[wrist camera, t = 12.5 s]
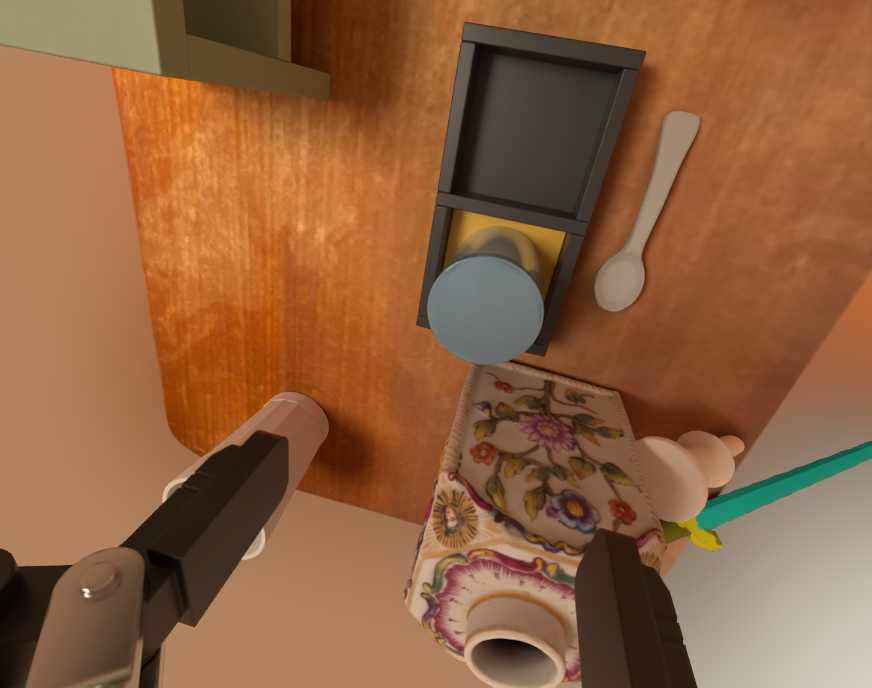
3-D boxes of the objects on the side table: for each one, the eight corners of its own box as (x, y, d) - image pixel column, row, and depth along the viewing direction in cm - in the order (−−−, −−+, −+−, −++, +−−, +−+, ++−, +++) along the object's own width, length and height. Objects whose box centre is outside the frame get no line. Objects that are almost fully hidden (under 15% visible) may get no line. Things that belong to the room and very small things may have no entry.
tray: (472, 33, 24) (464, 21, 21) (634, 60, 23) (647, 51, 20) (426, 309, 32) (416, 325, 30) (544, 337, 31) (544, 357, 29)
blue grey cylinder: (462, 216, 28) (436, 244, 21) (553, 235, 27) (559, 271, 20) (446, 300, 31) (419, 350, 24) (528, 320, 30) (525, 377, 23)
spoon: (584, 301, 30) (587, 309, 28) (652, 110, 25) (662, 105, 23) (626, 311, 29) (633, 321, 27) (704, 120, 24) (719, 116, 23)
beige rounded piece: (681, 430, 25) (758, 400, 30) (610, 444, 29) (689, 416, 35) (720, 522, 24) (793, 473, 29) (639, 523, 28) (717, 481, 33)
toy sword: (607, 597, 38) (1041, 442, 26) (567, 557, 36) (1008, 373, 25) (601, 570, 40) (997, 417, 29) (563, 531, 39) (964, 352, 27)
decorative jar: (441, 457, 38) (375, 684, 23) (472, 348, 33) (412, 547, 17) (572, 497, 37) (598, 765, 21) (626, 391, 32) (714, 647, 16)
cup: (339, 459, 41) (272, 570, 31) (265, 444, 43) (176, 546, 32) (334, 391, 38) (256, 491, 27) (253, 377, 39) (149, 467, 29)
